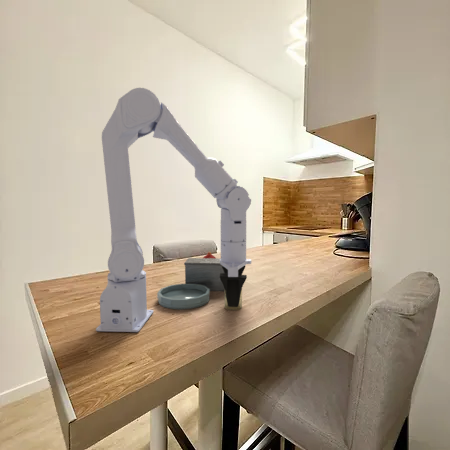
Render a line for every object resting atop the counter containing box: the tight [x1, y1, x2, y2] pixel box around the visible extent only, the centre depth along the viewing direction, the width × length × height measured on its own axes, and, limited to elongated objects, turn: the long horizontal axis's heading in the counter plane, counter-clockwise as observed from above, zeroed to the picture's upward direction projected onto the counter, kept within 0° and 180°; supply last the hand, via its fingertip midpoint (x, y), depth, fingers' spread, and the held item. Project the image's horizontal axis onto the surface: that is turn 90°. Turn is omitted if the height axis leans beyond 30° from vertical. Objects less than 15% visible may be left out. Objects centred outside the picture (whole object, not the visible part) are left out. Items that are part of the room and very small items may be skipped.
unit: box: [183, 257, 224, 292], centre depth 76 cm, size 6×12×8 cm, turn 88°
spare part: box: [223, 289, 243, 311], centre depth 62 cm, size 4×4×6 cm
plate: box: [156, 283, 211, 310], centre depth 67 cm, size 12×12×2 cm
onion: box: [202, 251, 216, 258], centre depth 88 cm, size 6×6×8 cm
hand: (233, 300), depth 62 cm, fingers open, 7 cm apart
